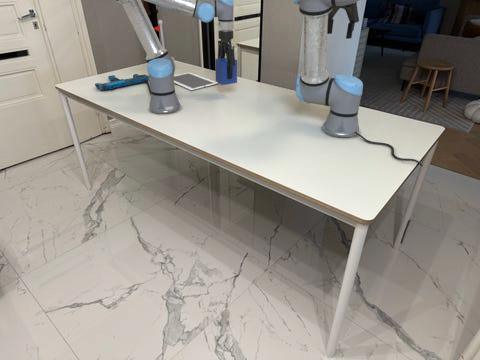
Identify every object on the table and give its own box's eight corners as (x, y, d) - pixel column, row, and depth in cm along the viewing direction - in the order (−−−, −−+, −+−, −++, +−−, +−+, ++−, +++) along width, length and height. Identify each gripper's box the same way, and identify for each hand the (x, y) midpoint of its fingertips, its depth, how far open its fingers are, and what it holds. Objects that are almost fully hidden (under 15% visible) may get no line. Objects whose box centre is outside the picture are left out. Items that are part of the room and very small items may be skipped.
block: (230, 79, 187) (230, 57, 181) (237, 82, 181) (237, 60, 175) (215, 81, 183) (215, 58, 177) (222, 85, 178) (221, 62, 171)
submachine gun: (139, 68, 225) (158, 74, 208) (140, 74, 226) (158, 80, 210) (87, 78, 206) (103, 86, 189) (89, 84, 208) (104, 92, 191)
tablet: (163, 78, 216) (163, 77, 215) (189, 72, 227) (189, 71, 226) (191, 90, 195) (191, 90, 195) (219, 83, 206) (219, 83, 206)
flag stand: (172, 63, 247) (168, 18, 231) (176, 67, 237) (171, 20, 221) (154, 64, 243) (148, 19, 227) (158, 69, 233) (151, 21, 217)
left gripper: (210, 27, 174) (211, 72, 187) (228, 34, 159) (229, 82, 172) (223, 26, 177) (223, 70, 190) (242, 33, 162) (241, 80, 175)
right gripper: (321, -17, 159) (315, 32, 170) (360, -13, 140) (351, 41, 152) (333, -17, 162) (327, 31, 173) (373, -14, 143) (363, 39, 155)
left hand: (226, 76), depth 181 cm, fingers closed on block, 8 cm apart
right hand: (338, 36), depth 162 cm, fingers open, 13 cm apart
